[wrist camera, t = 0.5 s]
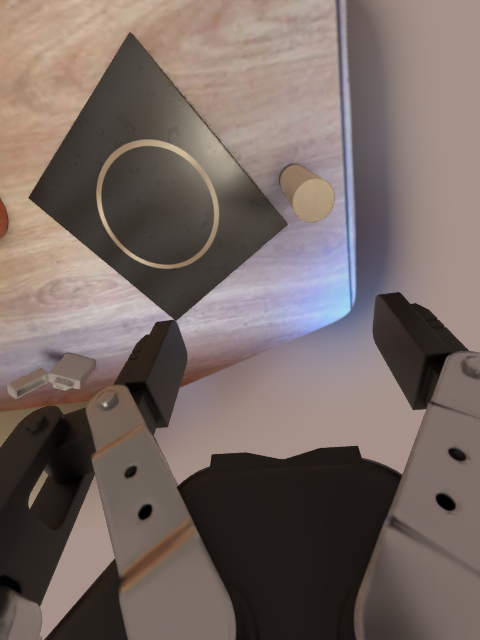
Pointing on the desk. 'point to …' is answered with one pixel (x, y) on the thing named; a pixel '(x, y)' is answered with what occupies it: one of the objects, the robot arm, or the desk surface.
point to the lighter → (55, 376)
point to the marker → (306, 193)
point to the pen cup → (3, 220)
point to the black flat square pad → (154, 187)
